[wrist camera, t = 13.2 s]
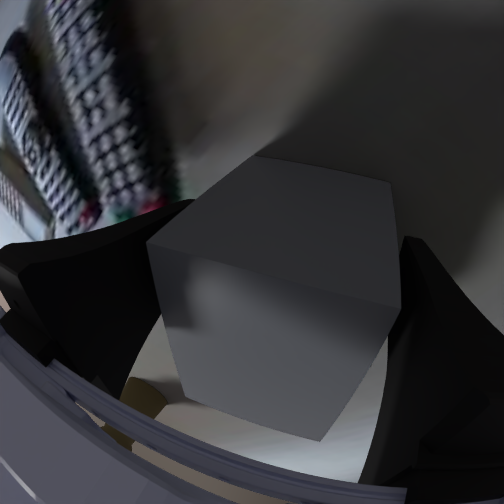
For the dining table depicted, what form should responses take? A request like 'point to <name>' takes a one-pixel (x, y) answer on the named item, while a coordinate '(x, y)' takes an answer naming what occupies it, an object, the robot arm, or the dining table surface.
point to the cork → (137, 406)
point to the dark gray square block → (279, 291)
